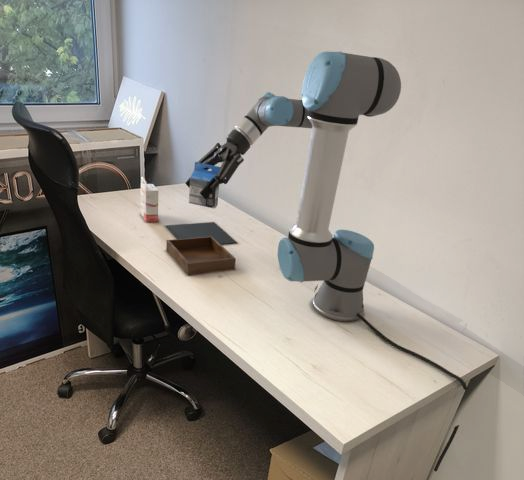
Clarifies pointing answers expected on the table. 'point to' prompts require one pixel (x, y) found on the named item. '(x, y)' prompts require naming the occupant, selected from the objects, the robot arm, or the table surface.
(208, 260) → the wooden tray
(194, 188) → the blue gray retail box
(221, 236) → the mat
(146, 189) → the ink cartridge box
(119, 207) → the table surface
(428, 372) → the table surface
